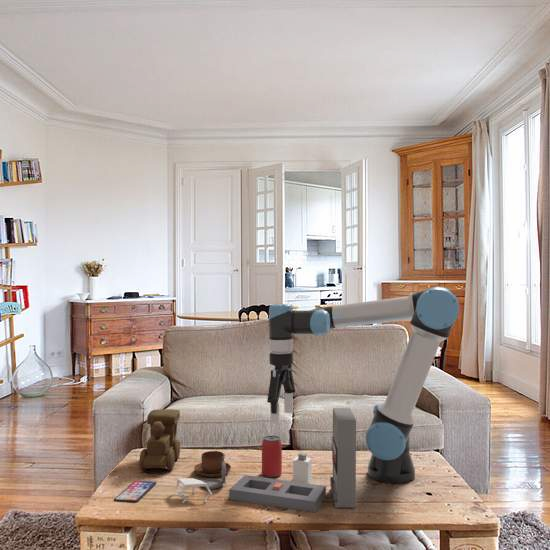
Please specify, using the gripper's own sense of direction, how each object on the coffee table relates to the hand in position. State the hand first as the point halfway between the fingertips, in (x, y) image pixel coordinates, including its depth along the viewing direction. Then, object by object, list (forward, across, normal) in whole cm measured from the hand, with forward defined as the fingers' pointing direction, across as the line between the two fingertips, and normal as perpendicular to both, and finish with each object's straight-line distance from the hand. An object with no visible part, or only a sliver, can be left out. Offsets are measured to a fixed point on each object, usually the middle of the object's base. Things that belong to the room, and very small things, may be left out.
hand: (282, 417), depth 182 cm
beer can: (+19, -1, -4) cm, 20 cm away
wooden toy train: (+19, +2, -44) cm, 47 cm away
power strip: (+19, +16, +4) cm, 25 cm away
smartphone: (+19, +26, -38) cm, 50 cm away
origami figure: (+19, +25, -20) cm, 37 cm away
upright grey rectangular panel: (+20, +10, +22) cm, 31 cm away
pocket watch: (+19, +14, -17) cm, 29 cm away
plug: (+20, +1, +7) cm, 21 cm away
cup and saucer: (+19, +4, -23) cm, 30 cm away
